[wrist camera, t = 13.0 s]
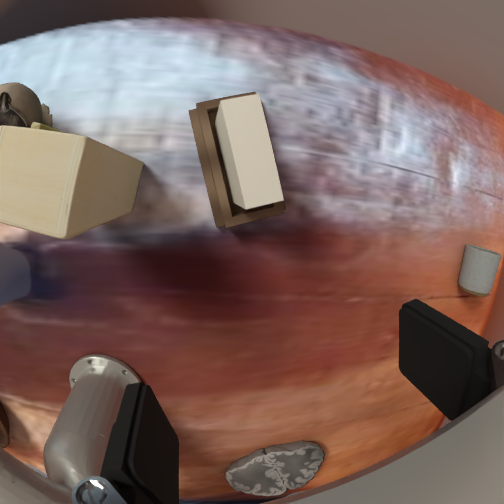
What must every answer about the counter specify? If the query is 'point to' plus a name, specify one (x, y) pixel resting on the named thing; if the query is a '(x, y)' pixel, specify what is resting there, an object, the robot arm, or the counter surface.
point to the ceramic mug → (478, 270)
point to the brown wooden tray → (222, 170)
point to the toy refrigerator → (62, 181)
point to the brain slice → (276, 468)
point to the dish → (4, 429)
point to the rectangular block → (247, 152)
